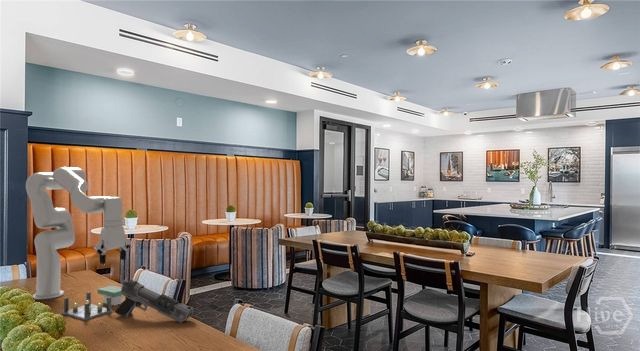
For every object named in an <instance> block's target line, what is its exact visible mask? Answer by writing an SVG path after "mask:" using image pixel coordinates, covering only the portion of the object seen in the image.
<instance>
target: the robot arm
mask: <svg viewBox="0 0 640 351" xmlns="http://www.w3.org/2000/svg"><path fill="white" fill-rule="evenodd" d="M86 179H87V174H86V171H84V169H82V168H81V167H72V166H70V167H67V166H63V167H62V166H61V167H58V168H56V169H54V171H51V172H49V171H48V172H46V171H44V172H43V171H42V172H41V171H40V172H34V173H32V174H30V175H29V176H28V177H27V179H26V180H25V190H26V193H27V196H28V198H29V201H30V204H31V210H32V216H33V221H34V224H35V226H36V228H38V229H49V230H44V231H41V232H39V233H37V235H35V238H34V239H33V240H34V241H33V243H34V246H35V252H36V287H35V290H36V292H35V293H34V294H32V297H33V298H34V299H33V298H32V299H33V300H49V299H50V300H51V299H56V298H59V297H61V296H62V297H63V295H64V294H65V291H64V290H62V289H61V265H62V264H61V263H62V262H61V255H60V254H59V252H58V251H57V250H59V249H65V248H69V247H71V246H72V245H73V244H75V240H76V235H75V234H76V233H75V230H74V224H73V219H72V215H71V213H70V212H69V210H68V209H67V208H64V207H54V204H53V199H52V198H51V196H50V195H49V194H48V193H47V192H46V191H49V190H50V191H51V190H65V191H66V192H68V193H69V194H70V200H71V204H72V205H73V206H75V207H76V208H77V209H78V210H79V211H81V212H82V213H84V214H90V215H91V214H98V213H99V214H100V213H103V227H102V228H101V230H100V235H99V242H97V243H96V244H93V245H94V246H93V248H94V250H95V252H96V253H97V254H98V255H99V264H101V265H104V264H106V262H107V259H106V258H107V257H106V253H107V251H110V250H117V249H120V251H119V259H120V261H121V260H122V261H126V258H127V251H128V249H129V248H130V245H131V243H132V240H130V239H127V238H126V232H125V228H124V226H123V224H125V220H123V199H122V197H119V196H106V195H102V196H99V195H98V196H88V195H87V194H85V193H86V192H87V191H88V188H89V183H88V182H87V181H86ZM52 228H56V229H52Z"/></svg>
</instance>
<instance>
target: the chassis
mask: <svg viewBox="0 0 640 351" xmlns="http://www.w3.org/2000/svg"><path fill="white" fill-rule="evenodd" d="M91 294H92V292H91V291H88V292H86V296H85V297H86V300H84V305H81V306H79V303H78V302H75V303H72V308H71V309H69V299H70V298H69V297H64V298H63V311H62V312H61V315H64V316H68V317H72V318H75V319H78V320H81V321H88V320H92V319H94V318H98V317H101V316H104V314H105V315H108V314H111V313H113V311H114V310H113V309H112V305H111V297H107V304H106V307H104V306H103V302H98V303H97V305H96V304H92V303H91V302H92V301H91V300H92V295H91Z"/></svg>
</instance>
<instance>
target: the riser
mask: <svg viewBox="0 0 640 351" xmlns="http://www.w3.org/2000/svg"><path fill="white" fill-rule="evenodd" d="M102 297H103V298H102V301H103V302H102V304H105V303H106V304H105V305H107V297H111V296H106V295H103V296H102ZM121 303H123V295H121V296H117V297H111V306H113V305H114V307H115V306H118V304H119V305H121Z"/></svg>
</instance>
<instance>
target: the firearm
mask: <svg viewBox="0 0 640 351" xmlns="http://www.w3.org/2000/svg"><path fill="white" fill-rule="evenodd" d="M122 283H123V284H122V286H121V293H122V294H123V295H122V296H123V297H125V299H124V300H122V304H119V306H118V307H117V308H116V309H115V310H114V314H117V315H119V316H121V317H123V318H125V319H129V318H131V317H133V316H134V314H133V311H134V309H136V308H138V309H141V310H142V311H144V312H146V311H147V310H148V307H150V308H151V309H154V310H155V311H157V313H159V314H161V315H164V316H166V317H167V318H170V319H172V320H174V321H176V322H179V323H184V322H185V321H186V320H188V319H189V318H191V317H192V316H193V313H194V308H193V307H192V306H189V305H187V304H185V303H183V302H181V303H179V300H177V299H174V298H172V296H171V297H169V296H168V295H167V294H164V293H162V294H159V293H158V292H156V291H153V290H151V289H149V288H147V287H146V286H145V285H143V284H141V283H140V282H138V280H133V279H130V280H128V281H127V280H125V279H124V280H122Z"/></svg>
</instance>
